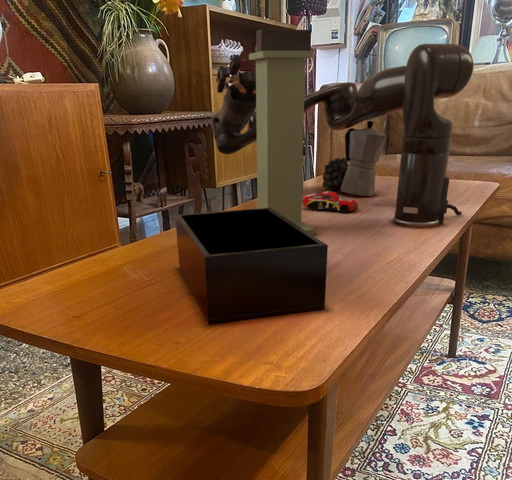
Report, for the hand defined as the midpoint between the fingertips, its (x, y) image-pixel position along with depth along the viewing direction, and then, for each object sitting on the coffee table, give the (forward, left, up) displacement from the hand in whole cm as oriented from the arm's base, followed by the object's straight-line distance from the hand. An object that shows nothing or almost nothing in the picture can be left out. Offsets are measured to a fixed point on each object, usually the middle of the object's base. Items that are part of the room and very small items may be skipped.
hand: (258, 59), depth 103 cm
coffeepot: (-28, -24, -31) cm, 48 cm away
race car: (-17, -6, -32) cm, 37 cm away
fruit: (-24, -30, -32) cm, 50 cm away
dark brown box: (-2, +8, 0) cm, 8 cm away
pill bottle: (-10, -17, -32) cm, 38 cm away
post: (-2, +13, -32) cm, 34 cm away
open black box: (+8, +45, -32) cm, 55 cm away
